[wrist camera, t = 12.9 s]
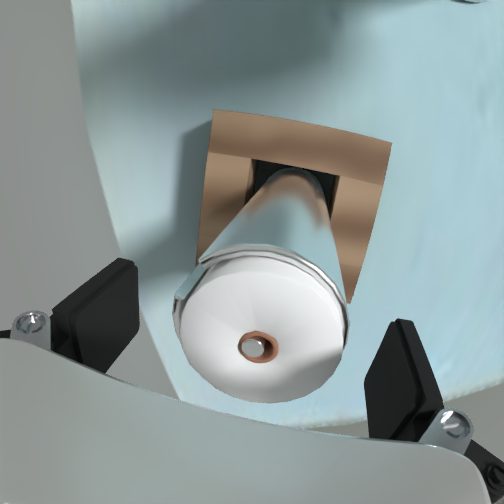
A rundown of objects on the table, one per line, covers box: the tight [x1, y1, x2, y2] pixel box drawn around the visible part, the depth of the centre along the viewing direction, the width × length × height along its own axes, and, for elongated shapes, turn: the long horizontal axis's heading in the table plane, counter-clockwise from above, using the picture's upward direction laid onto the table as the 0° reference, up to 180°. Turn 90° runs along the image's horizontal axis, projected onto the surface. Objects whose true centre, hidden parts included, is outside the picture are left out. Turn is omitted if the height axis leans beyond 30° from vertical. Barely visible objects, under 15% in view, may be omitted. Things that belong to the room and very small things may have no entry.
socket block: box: [196, 109, 392, 304], centre depth 31 cm, size 16×16×5 cm
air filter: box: [172, 167, 350, 403], centre depth 22 cm, size 6×6×25 cm
